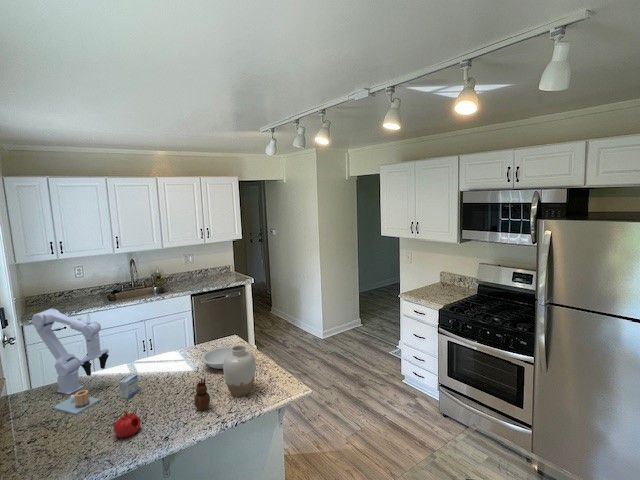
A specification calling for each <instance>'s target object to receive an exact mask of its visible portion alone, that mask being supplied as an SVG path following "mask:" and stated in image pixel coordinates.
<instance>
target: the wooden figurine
mask: <svg viewBox="0 0 640 480" xmlns="http://www.w3.org/2000/svg"><path fill="white" fill-rule="evenodd" d="M195 387H196V388H195V393H196V394H195V395H194V398H193V399H194V400H193V401H194V405H195V408H196V409H197V410H198V411H206V410H208V408H209V406H210V404H211V403H210V402H211V398H210V394H209V393H208V392H207V391H208V387H207V385H206V377H204V379H203V378H200V380H198V382H197V383H196V386H195ZM205 409H206V410H205Z"/></svg>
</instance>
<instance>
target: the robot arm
mask: <svg viewBox="0 0 640 480" xmlns="http://www.w3.org/2000/svg"><path fill="white" fill-rule="evenodd" d="M55 323H59V324H60V323H61V324H62V325H63V324H64V325H66V326H69V327H70V329H71V330H74V331H76V332H80V333H82V335H83V337H84V340H85V344H86V345H85V347H86V353H87V355H86V356H85V357H82V358H81V359H80V358H78V357H76V356H75V354H73V353H68V350H66V348H65V347H64V345H63V344H62V342H61V341H60V340H59V338H58V337H57V334H56V333H55V332H54V330H53V329H52V327H53V325H54V324H55ZM31 325H33V328H35V330H36V333H37V335H39V337H40V339H41V340H42V342H43V343H44V344H45V346H46V347H47V349H48V350H49V352H50V353H51V355H53V357H54V358H55V361H56V362H55V364H54V365H53V366H54V368H55V369H56V374H57V375H58V376H57V388H58V390H56V392H57V393H59V394H61V393H62V394H65V395H72V394H73V393H74V392H75V393H76V391H77V392H78V390H79V391H80V389H83V388H84V385H81V384H80V377H79V370H80V369H79V368H80V367H82V369H83V370H84V371H85V374H86V376H87V377H90V376H92V370H91V369H92V363H91V362H90V361H93V360H95V359H98V360H99V367H100V369H101V370H105V368H106V362H107V360H108V358H109V357H110V356H109V355H110V354H109V353H110V351H109V348H104V349H101V344H100V334H99V332H100V331H101V330H102V329H101V324H100V323H99V322H97V321H92V322H91V321H89V320H84V319H82V318H81V317H76V318H72V317H70V316H67V315H65V314H63V313H61V312H60V311H59V310H58V309H55V308H53V307H52V308H49V309H47V310H43V311H41V312H38V313H34V314H33V316H32V318H31Z"/></svg>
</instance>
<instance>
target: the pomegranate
mask: <svg viewBox="0 0 640 480" xmlns="http://www.w3.org/2000/svg"><path fill="white" fill-rule="evenodd" d="M119 417H120V418H119ZM117 418H118V419H117V420H116V421H115V422H114V424H113V432H114V433H115V435H116V436H117V437H119V438H128V437H131V436H133V435H135V434H137V432H138V431H139V429H140V426H141V421H142V420H141V417H139V416H138V415H137V414H136V412H131V413H130V412H128V410H125V411H124V415H118V416H117Z"/></svg>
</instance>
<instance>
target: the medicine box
mask: <svg viewBox="0 0 640 480" xmlns="http://www.w3.org/2000/svg"><path fill="white" fill-rule="evenodd" d="M118 383H119V385H118V386H119V395H120V399H130V398H131V397H133V396H134V395H135V394H136V393H138V392H139V391H140V389H139V388H140V385H139V376H138V374H129V375H127V376H126V377H124V378H123V379H121V380H120V381H119V382H118Z"/></svg>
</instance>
